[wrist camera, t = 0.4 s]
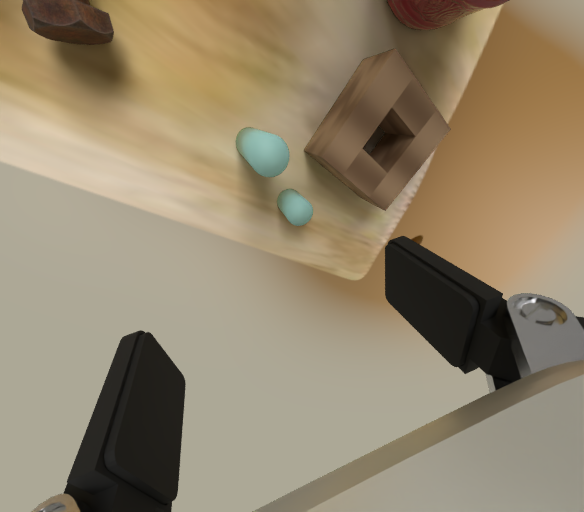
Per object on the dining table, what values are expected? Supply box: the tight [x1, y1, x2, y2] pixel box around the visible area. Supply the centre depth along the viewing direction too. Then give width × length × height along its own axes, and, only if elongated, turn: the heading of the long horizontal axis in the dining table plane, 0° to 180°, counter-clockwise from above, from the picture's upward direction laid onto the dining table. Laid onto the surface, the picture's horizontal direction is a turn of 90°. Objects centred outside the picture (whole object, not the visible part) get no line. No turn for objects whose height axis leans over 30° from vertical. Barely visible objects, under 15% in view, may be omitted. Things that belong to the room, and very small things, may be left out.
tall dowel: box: [236, 127, 289, 177], centre depth 25 cm, size 3×3×11 cm
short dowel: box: [277, 189, 313, 226], centre depth 33 cm, size 3×3×5 cm
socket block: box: [304, 48, 450, 211], centre depth 31 cm, size 12×12×6 cm
